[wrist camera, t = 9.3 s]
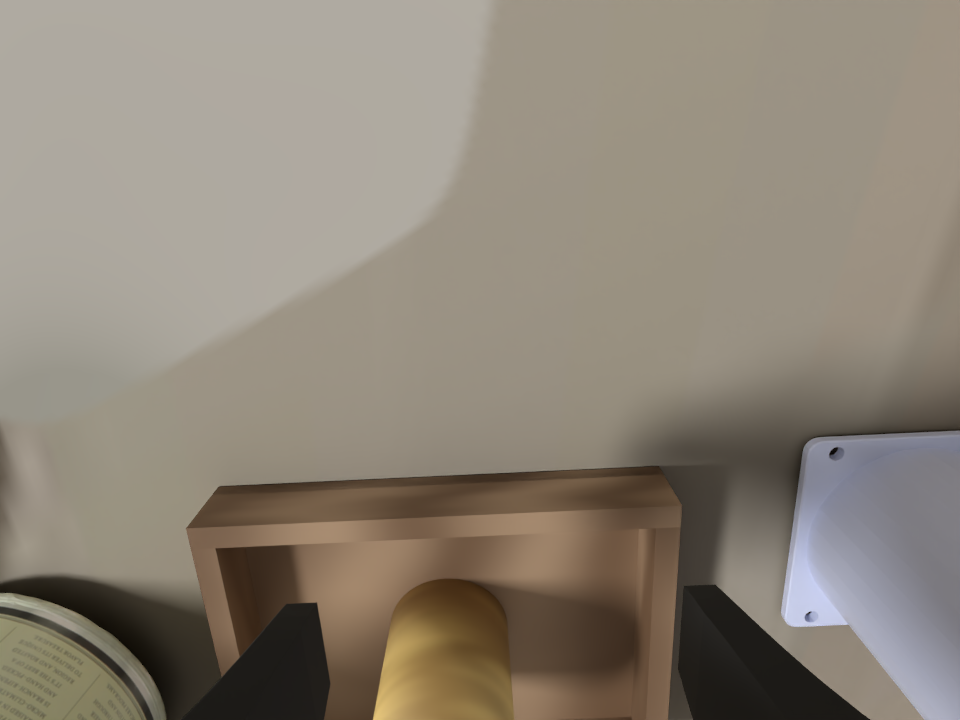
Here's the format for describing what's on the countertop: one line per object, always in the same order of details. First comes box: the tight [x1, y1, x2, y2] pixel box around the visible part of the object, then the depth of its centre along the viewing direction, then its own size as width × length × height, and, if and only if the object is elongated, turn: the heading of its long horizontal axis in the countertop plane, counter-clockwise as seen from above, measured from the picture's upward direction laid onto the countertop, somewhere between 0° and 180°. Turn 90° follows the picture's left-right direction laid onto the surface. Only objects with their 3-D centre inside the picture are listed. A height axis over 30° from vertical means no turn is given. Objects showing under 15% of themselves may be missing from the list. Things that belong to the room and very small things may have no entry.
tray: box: [186, 466, 682, 720], centre depth 23 cm, size 16×12×3 cm
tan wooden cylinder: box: [373, 579, 514, 720], centre depth 20 cm, size 4×4×6 cm
